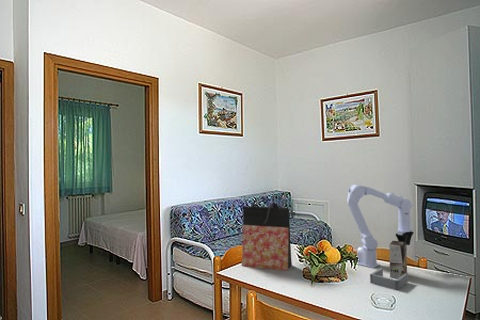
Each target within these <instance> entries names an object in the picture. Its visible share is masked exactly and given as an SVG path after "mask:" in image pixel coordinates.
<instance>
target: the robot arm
mask: <svg viewBox="0 0 480 320" xmlns="http://www.w3.org/2000/svg"><path fill="white" fill-rule="evenodd" d="M368 195H371V196H373V197H377V198H379V199H383V202H384V203H385V204H389V205H391V206H393V207H396V208H397V211H398V213H397V215H398V218H397V219H398V220H397V221H398V229H397V232H396V233H395V237H396V239H397V241H402V242H406V246H410V244H411V241H412V238H413V237H412V236H413V235H414V229H412V227H411V209H412V207H413V204H412V202H411V201H410V199H407V198H404V197H403V196H401V195H400V196H399V195H396V194H395V193H394V192H387V193H384V192H382V191H381V190H380V191H379V190H376V189H375V188H372V187H369V186H365V185H360V184H355V183H354V184H351V185H350V186H349V188H348V190H347V200H346V203H347V207H348V208H349V211H350V213H351V216H352V218H353V220H354V222H355V225H356V226H357V229H358V232H359V236H360V243H361V244H362V246H359V247H357V250H356V258H357V257H358V259H359V260H358V264H357V265H359V266H364V267H367V268H372V269H375V268H377V267H378V266H380V263H378V261H377V259H378V258H377V256H378V255H377V247H378V245H379V243H378V241H377V239H375V237H373V234H372V233H371V231H370V229H369V227H368V225H367V223H366V220H365V217H364V215H363V213H362V211H361V209H360V206H359V202H360V200H361V199H362V198H363V197H364V196H368Z"/></svg>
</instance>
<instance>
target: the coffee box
mask: <svg viewBox="0 0 480 320" xmlns="http://www.w3.org/2000/svg"><path fill="white" fill-rule="evenodd" d="M407 249H408V248H407V245H406V242H402V241H398V240H392V241H391V242H390V243H389V278H392V279H398V278H399V277H401V276H402V275H404V274H407V275H408V258H407V257H408V256H407V255H408V254H407Z"/></svg>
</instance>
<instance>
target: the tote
mask: <svg viewBox="0 0 480 320" xmlns="http://www.w3.org/2000/svg"><path fill="white" fill-rule="evenodd" d="M369 277H370V278H369V280H370V281H369V282H370V284H372V285H376V286H380V287H384V288H386V289H391V290H395V291H399V290H400V289H402V288H403V287H405V285H407V284H408V273H407V274H404V275H402V276H401V277H399V278H396V279H395V278H391V277H385V276H384V269H383V268H382V267H380V268H378V269H377V270H374V271H373V272H372V273H370V274H369Z"/></svg>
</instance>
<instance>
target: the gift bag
mask: <svg viewBox="0 0 480 320" xmlns="http://www.w3.org/2000/svg"><path fill="white" fill-rule="evenodd" d="M290 216H296V211H291V212H290V210H289V207H279V206H278V205H277V204H276V202H272V203H271V204H270V205H269V206H260V205H258V204H256V203H252V206H248V205H247V206H246V205H245V206H244V205H243V206H242V221H243V222H242V247H241V248H242V249H241V250H242V251H241V252H242V255H241V266H242V267H249V268H259V269H267V270H277V271H284V272H285V271H286V272H287V271H288V272H289V270H290V268H291V267H292V265H293V263H292V250H291V247H292V245H291V228H290V227H291V225H290V223H291V222H290Z"/></svg>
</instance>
